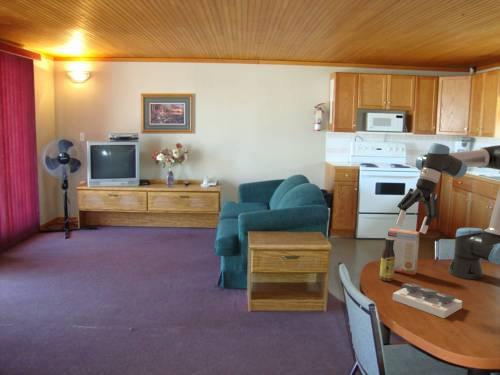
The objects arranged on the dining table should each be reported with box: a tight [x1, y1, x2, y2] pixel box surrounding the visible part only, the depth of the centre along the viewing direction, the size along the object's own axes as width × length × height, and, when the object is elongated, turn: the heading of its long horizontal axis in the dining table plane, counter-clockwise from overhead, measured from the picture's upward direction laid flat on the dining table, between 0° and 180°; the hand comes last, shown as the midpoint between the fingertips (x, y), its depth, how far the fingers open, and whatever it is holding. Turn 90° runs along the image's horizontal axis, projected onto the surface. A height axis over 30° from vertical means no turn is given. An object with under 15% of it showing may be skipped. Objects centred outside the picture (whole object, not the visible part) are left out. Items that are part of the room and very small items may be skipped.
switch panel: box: [392, 287, 463, 319], centre depth 179 cm, size 15×22×4 cm
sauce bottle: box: [379, 237, 395, 282], centre depth 205 cm, size 6×6×20 cm
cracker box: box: [387, 227, 420, 276], centre depth 216 cm, size 14×6×21 cm, turn 58°
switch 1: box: [401, 282, 423, 290], centre depth 184 cm, size 9×4×2 cm, turn 131°
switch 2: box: [434, 293, 456, 301], centre depth 173 cm, size 9×4×2 cm, turn 131°
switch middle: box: [417, 287, 439, 295], centre depth 179 cm, size 9×4×2 cm, turn 131°
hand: (410, 229), depth 180 cm, fingers open, 13 cm apart
